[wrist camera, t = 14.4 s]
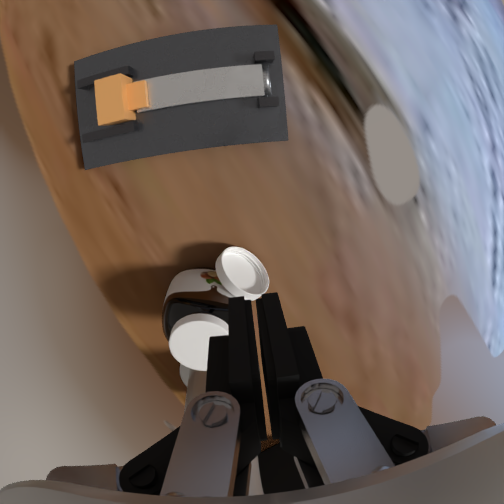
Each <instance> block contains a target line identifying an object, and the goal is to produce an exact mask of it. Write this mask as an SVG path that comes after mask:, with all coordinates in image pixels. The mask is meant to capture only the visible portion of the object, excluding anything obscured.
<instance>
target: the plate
mask: <svg viewBox="0 0 504 504" xmlns="http://www.w3.org/2000/svg"><path fill="white" fill-rule="evenodd" d="M257 64H269V72H270V83H271V93H272V95H271V96H259V97H245V98H234V99H224V100H215V101H207V102H199V103H192V104H185V105H179V106H173V107H167V108H161V109H156V110H151V111H146V112H141V113H137V110H135V114H136V120H133V121H129V122H124V123H120V124H116V125H105V126H98V119H97V109H96V98H95V85H94V81H95V80H98V79H102V78H105V77H108V76H112V75H116V74H119V73H121V74H123V75H125V76H128V77H130V78H132V82H136V81H140V80H145V79H149V78H154V77H159V76H165V75H170V74H176V73H182V72H189V71H195V70H203V69H211V68H220V67H230V66H242V65H257ZM74 68H75V88H76V102H77V113H78V123H79V132H80V140H81V147H82V154H83V161H84V167H85V170H87V169H91V168H96V167H100V166H105V165H109V164H114V163H119V162H124V161H129V160H134V159H139V158H145V157H150V156H156V155H162V154H168V153H175V152H181V151H188V150H195V149H203V148H211V147H219V146H228V145H237V144H248V143H259V142H272V141H287V140H288V130H287V118H286V106H285V95H284V84H283V74H282V64H281V55H280V46H279V37H278V29H277V25H254V26H238V27H226V28H216V29H208V30H200V31H193V32H187V33H181V34H175V35H169V36H164V37H159V38H154V39H150V40H145V41H141V42H137V43H133V44H129V45H125V46H122V47H118V48H114V49H111V50H108V51H104V52H101V53H98V54H95V55H92V56H89V57H86V58H83V59H80V60H77V61H75V62H74Z"/></svg>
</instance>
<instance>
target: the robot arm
mask: <svg viewBox="0 0 504 504" xmlns="http://www.w3.org/2000/svg"><path fill="white" fill-rule="evenodd" d="M256 307H257V317H258V327H259V337H260V348H261V358H262V366H263V374H264V381H265V388H266V395H267V402H268V410H269V417H270V424H271V431H272V438H273V439H279V441H280V447H282V450H284V451H286V452H288V453H289V454H291V455H293V456H294V460H295V463H296V466H297V468H298V471H299V473H300V476H301V478H302V481H303V483H304V486H305V488H306V489H301V490H294V491H288V492H280V493H272V494H264V492H263V488H262V483H261V478H260V471H259V463H258V455H259V454H260V453H261V442H260V441H264V440H267V434H266V425H265V416H264V407H263V397H262V388H261V379H260V369H259V363H258V355H257V347H256V338H255V330H254V322H253V314H252V305H251V300H245V299H244V296H240V297H230V298H228V335H223V336H211V337H210V338H209V347H208V361H207V371H199V370H194V369H191V368H188V367H186V366H184V365H182V364H181V363H180V376H181V379H182V381H183V383H184V384H185V385H186V386H187V394H186V402H185V411H184V416H183V419H182V423H181V426H179V427H178V428H177V429H175V430H174V431H173V432H171V433H170V434H168V435H167V436H166V437H164V438H163V439H161V440H160V441H158V442H157V443H155V444H154V445H153V446H151V447H150V448H148V449H147V450H145V451H144V452H142V453H141V454H139V455H138V456H136V457H135V458H133V459H132V460H130V461H129V462H128V463H127V464H125V465H124V466H120V467H118V466H117V465H116V464H108V465H92V466H61V467H56V468H55V469H53V470H52V471H50V473H49V474H48V476H47V478H46V480H29V481H21V482H16V483H12V484H9V485H7V486H5V487H3V488H2V489H1V490H0V504H504V423H503V424H499V425H496V424H495V422H494V421H492V420H491V419H490V418H487V417H483V416H482V417H474V418H470V419H465V420H460V421H456V422H450V423H445V424H439V425H434V426H427V428H426V429H425V430H419V429H417V428H415V427H413V426H410V425H407V424H404V423H401V422H398V421H396V420H393V419H390V418H388V417H385V416H382V415H380V414H377V413H374V412H372V411H369V410H367V409H364V408H362V407H359V406H357V404H356V403H355V401H354V400H353V398H352V397H351V395H350V393H349V392H348V390H347V389H346V388H345V387H344V386H343V385H342V384H340V383H339V382H337V381H334V380H330V379H323V377H322V374H321V371H320V369H319V366H318V363H317V360H316V357H315V354H314V351H313V348H312V345H311V343H310V340H309V337H308V334H307V331H306V329H305V327H304V326H301V327H294V328H287V326H286V322H285V319H284V315H283V311H282V308H281V304H280V300H279V297H278V293H277V292H276V293H267V294H262V298H260V299H256Z"/></svg>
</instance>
